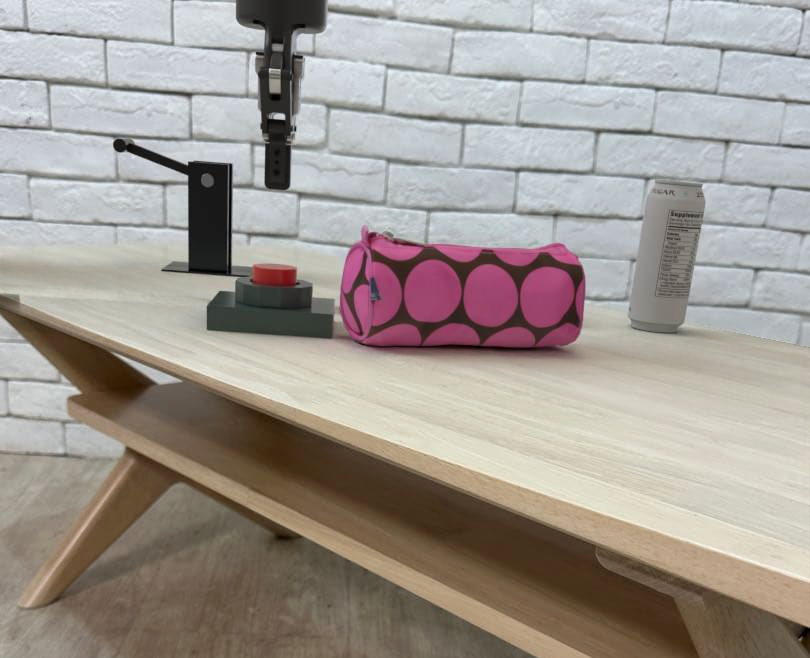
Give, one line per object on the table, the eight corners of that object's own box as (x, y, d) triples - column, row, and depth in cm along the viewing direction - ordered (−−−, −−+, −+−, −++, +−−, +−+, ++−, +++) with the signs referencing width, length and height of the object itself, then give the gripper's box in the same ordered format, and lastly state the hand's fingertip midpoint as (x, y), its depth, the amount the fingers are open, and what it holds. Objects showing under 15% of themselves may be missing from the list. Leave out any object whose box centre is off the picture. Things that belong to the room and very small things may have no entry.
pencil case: (365, 358, 82) (373, 231, 78) (331, 334, 90) (337, 219, 86) (591, 358, 89) (608, 242, 85) (540, 336, 98) (554, 230, 94)
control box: (206, 330, 87) (206, 284, 86) (219, 313, 96) (219, 271, 94) (332, 339, 88) (334, 293, 87) (334, 321, 96) (336, 279, 95)
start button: (250, 287, 88) (250, 267, 88) (254, 281, 92) (254, 262, 92) (295, 291, 89) (296, 270, 88) (297, 284, 92) (298, 265, 92)
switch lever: (110, 154, 109) (115, 131, 108) (120, 153, 114) (125, 132, 113) (216, 195, 111) (223, 174, 110) (222, 193, 116) (228, 172, 115)
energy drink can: (660, 323, 112) (684, 181, 106) (694, 333, 106) (721, 185, 101) (615, 322, 109) (637, 177, 104) (647, 333, 104) (672, 182, 99)
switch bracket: (161, 280, 113) (159, 159, 108) (173, 271, 120) (172, 158, 115) (250, 286, 114) (252, 167, 109) (256, 277, 121) (258, 165, 116)
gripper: (244, -28, 87) (242, 182, 93) (226, -55, 75) (225, 189, 81) (331, -20, 87) (322, 189, 94) (327, -46, 75) (317, 196, 82)
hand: (277, 189), depth 87 cm, fingers closed
